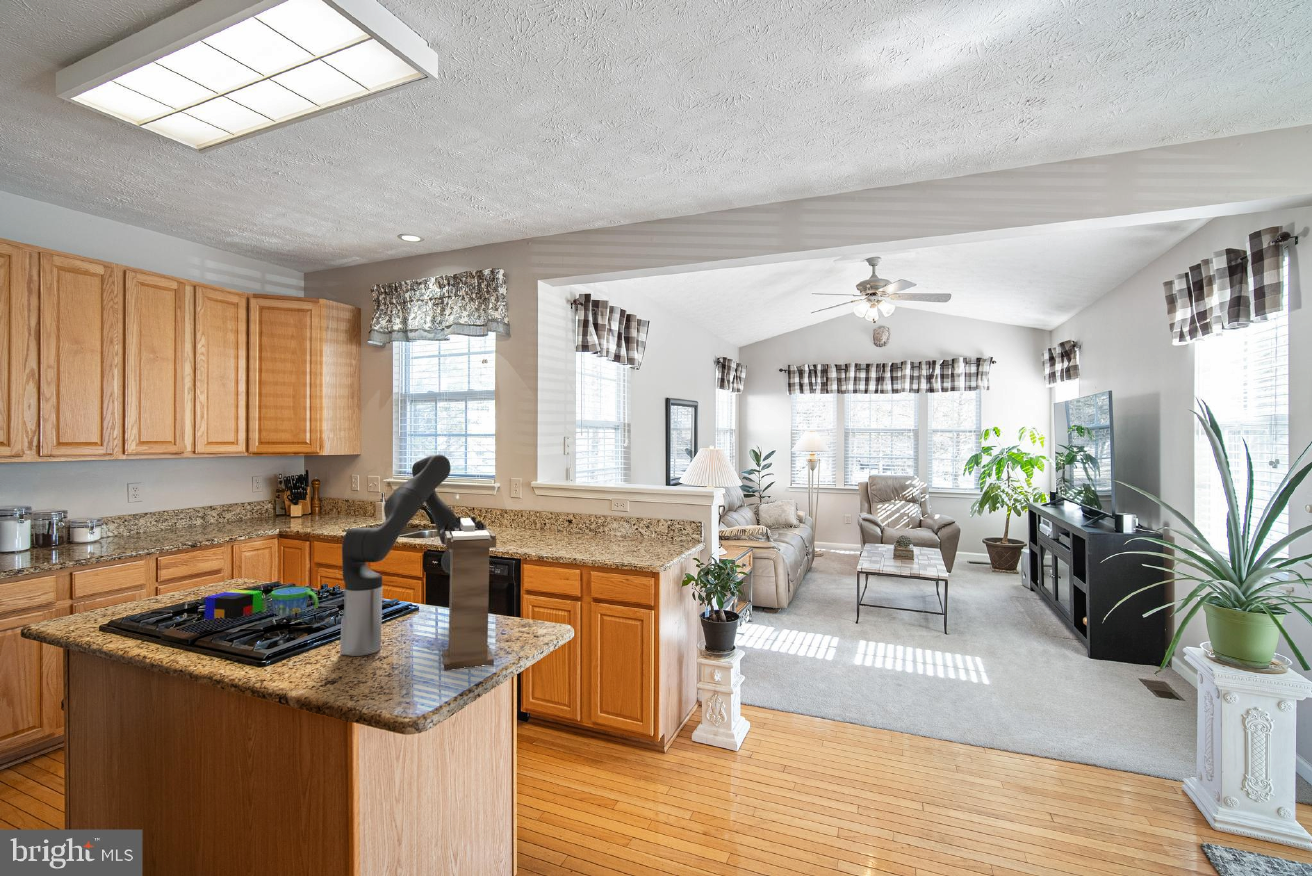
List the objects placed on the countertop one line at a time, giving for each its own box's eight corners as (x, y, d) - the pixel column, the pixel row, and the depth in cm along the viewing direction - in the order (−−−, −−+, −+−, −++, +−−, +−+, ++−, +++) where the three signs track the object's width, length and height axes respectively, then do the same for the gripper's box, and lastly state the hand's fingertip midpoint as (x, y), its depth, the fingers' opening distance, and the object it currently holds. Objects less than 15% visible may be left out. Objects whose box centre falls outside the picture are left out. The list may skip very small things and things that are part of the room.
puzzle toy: (204, 630, 177) (205, 597, 177) (233, 621, 187) (234, 589, 187) (233, 632, 175) (234, 598, 176) (261, 623, 185) (262, 591, 186)
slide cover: (448, 527, 173) (448, 518, 173) (480, 526, 176) (480, 517, 176) (453, 540, 149) (453, 530, 149) (490, 538, 152) (490, 528, 152)
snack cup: (323, 618, 192) (324, 586, 192) (307, 627, 181) (308, 594, 181) (273, 618, 190) (274, 586, 191) (253, 628, 180) (254, 594, 180)
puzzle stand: (442, 655, 159) (444, 531, 160) (488, 650, 163) (490, 529, 164) (443, 670, 148) (446, 537, 148) (493, 664, 152) (496, 535, 153)
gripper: (437, 530, 183) (440, 507, 169) (485, 529, 188) (490, 506, 174) (437, 554, 179) (439, 531, 165) (485, 551, 184) (492, 530, 170)
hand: (466, 518), depth 170 cm, fingers closed on slide cover, 3 cm apart
